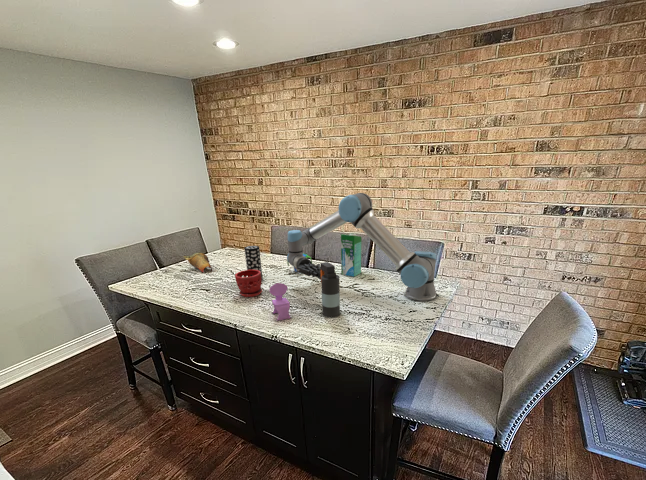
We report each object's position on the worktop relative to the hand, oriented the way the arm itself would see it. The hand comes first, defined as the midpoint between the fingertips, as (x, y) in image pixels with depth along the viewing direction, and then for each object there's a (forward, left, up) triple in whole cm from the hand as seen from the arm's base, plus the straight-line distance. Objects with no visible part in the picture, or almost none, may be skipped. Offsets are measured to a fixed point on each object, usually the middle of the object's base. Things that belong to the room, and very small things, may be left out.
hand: (322, 276), depth 156 cm
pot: (+105, 0, -16) cm, 106 cm away
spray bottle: (-7, +3, -15) cm, 17 cm away
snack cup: (+48, -35, -16) cm, 62 cm away
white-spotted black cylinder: (+57, -6, -16) cm, 60 cm away
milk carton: (+18, -49, -16) cm, 55 cm away
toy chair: (+9, +19, -16) cm, 26 cm away
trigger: (-2, +1, -3) cm, 4 cm away
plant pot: (+42, +10, -16) cm, 46 cm away
